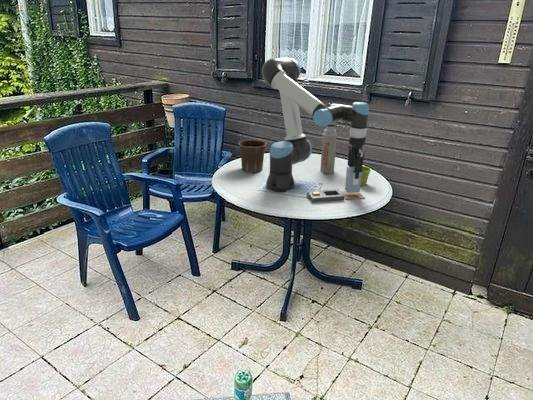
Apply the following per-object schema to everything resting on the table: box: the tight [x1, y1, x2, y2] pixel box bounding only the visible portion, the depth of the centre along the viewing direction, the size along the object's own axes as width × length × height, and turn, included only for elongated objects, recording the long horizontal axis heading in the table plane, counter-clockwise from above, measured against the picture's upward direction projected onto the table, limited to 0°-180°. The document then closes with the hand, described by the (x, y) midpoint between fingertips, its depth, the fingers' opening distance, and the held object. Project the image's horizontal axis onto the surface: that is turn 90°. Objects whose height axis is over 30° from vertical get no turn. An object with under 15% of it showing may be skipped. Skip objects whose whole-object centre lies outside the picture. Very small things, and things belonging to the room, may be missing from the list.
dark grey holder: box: [306, 188, 345, 203], centre depth 194 cm, size 9×16×4 cm, turn 101°
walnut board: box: [339, 190, 366, 201], centre depth 197 cm, size 10×10×1 cm
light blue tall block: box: [344, 166, 362, 193], centre depth 194 cm, size 4×6×12 cm
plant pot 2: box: [360, 165, 372, 186], centre depth 213 cm, size 9×9×9 cm
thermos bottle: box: [319, 123, 338, 174], centre depth 228 cm, size 8×8×28 cm
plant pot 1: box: [238, 139, 268, 174], centre depth 231 cm, size 16×16×16 cm
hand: (353, 182), depth 195 cm, fingers closed on light blue tall block, 4 cm apart
